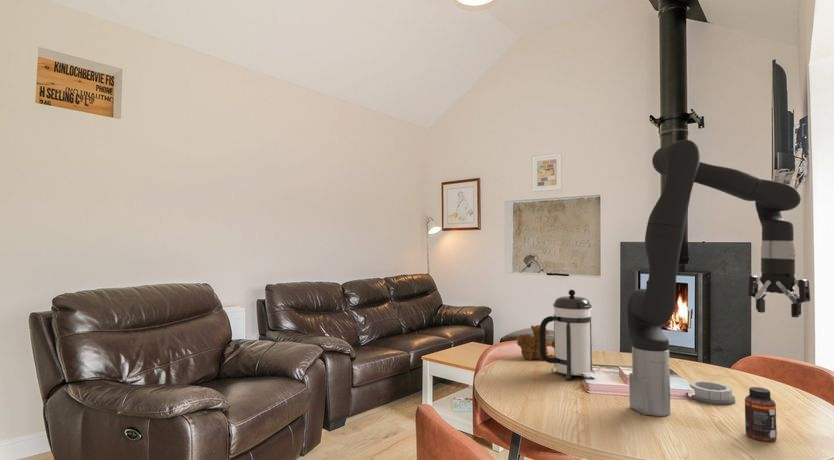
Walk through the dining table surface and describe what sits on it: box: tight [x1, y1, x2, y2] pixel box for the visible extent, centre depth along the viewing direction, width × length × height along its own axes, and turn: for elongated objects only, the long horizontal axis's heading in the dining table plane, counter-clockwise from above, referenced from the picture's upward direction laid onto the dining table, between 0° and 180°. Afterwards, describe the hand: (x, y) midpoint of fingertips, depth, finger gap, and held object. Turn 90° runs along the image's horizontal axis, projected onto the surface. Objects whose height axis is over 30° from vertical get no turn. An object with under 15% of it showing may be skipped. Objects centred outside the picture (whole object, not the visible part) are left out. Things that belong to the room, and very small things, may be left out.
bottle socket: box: [689, 380, 736, 406], centre depth 135 cm, size 12×12×4 cm
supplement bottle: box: [744, 386, 778, 442], centre depth 108 cm, size 6×6×11 cm
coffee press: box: [539, 289, 594, 382], centre depth 158 cm, size 17×16×30 cm
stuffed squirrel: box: [516, 324, 555, 361], centre depth 182 cm, size 10×14×13 cm
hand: (777, 314), depth 127 cm, fingers open, 8 cm apart
